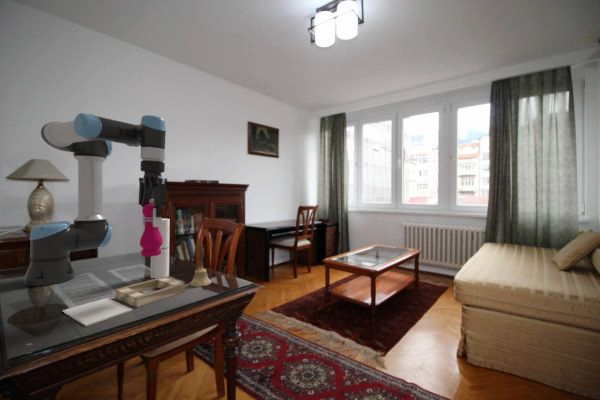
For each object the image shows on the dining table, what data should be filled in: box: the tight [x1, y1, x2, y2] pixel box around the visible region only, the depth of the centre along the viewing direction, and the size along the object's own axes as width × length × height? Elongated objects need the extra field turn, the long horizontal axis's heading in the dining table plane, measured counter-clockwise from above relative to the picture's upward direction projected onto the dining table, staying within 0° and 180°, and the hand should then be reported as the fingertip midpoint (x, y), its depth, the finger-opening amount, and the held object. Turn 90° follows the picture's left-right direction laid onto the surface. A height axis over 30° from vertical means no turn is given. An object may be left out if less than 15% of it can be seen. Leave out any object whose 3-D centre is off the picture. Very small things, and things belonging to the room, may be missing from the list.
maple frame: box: [115, 277, 186, 308], centre depth 96 cm, size 14×17×3 cm
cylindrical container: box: [150, 218, 171, 279], centre depth 117 cm, size 7×7×25 cm
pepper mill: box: [139, 198, 163, 257], centre depth 96 cm, size 7×7×20 cm
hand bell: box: [189, 243, 212, 288], centre depth 109 cm, size 8×8×16 cm
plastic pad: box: [62, 297, 133, 327], centre depth 82 cm, size 16×12×1 cm
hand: (151, 225), depth 96 cm, fingers closed on pepper mill, 6 cm apart
